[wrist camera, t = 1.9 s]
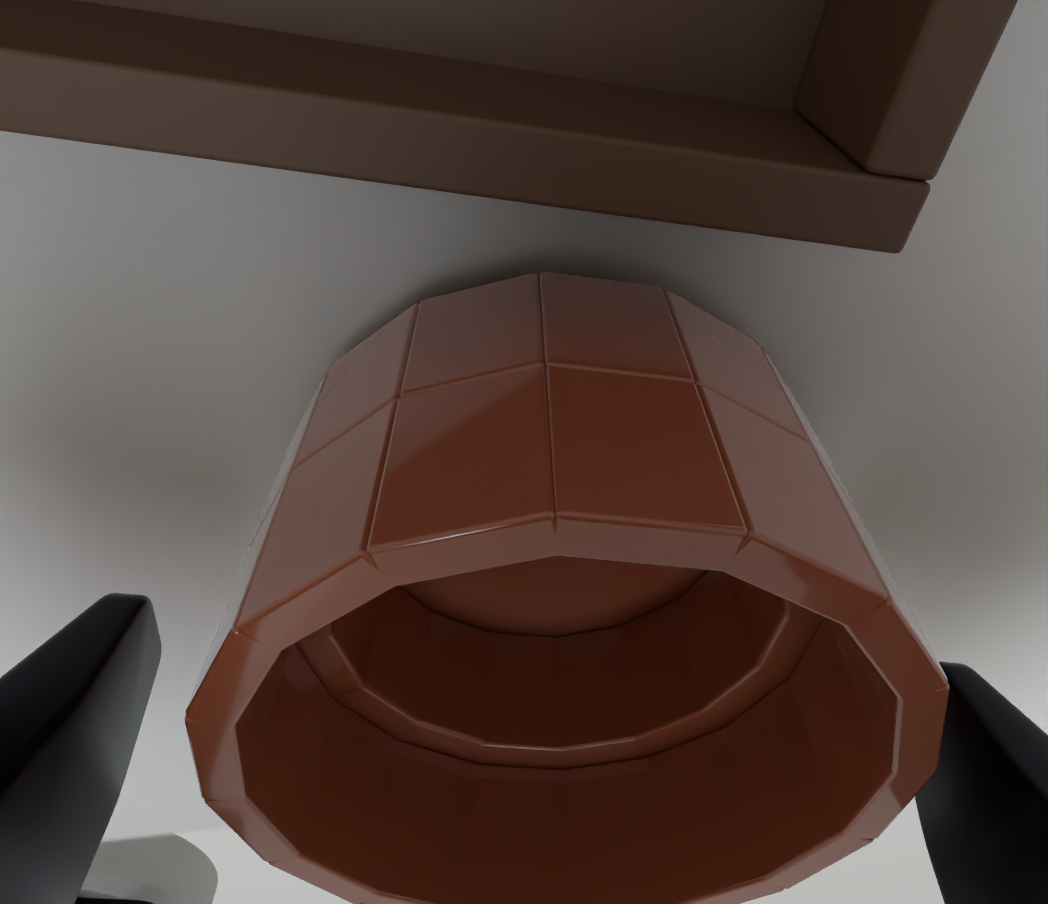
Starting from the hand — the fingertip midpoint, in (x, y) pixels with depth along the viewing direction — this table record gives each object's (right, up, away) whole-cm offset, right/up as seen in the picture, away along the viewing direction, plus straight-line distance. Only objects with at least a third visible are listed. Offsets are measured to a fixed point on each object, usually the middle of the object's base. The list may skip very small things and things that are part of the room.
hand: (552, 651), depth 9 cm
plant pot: (0, +2, +2) cm, 3 cm away
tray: (-2, +12, -5) cm, 13 cm away
